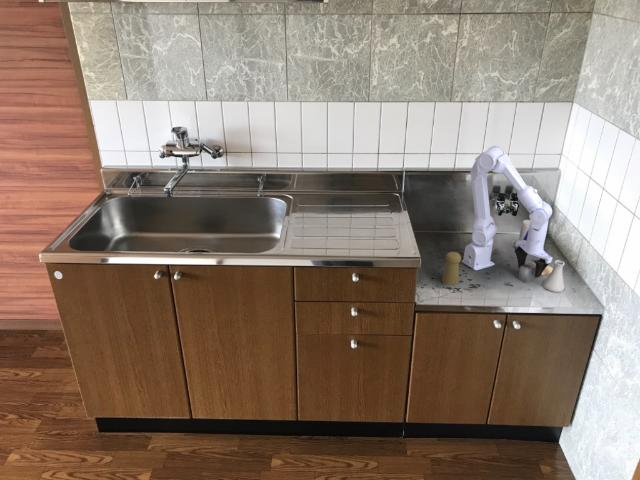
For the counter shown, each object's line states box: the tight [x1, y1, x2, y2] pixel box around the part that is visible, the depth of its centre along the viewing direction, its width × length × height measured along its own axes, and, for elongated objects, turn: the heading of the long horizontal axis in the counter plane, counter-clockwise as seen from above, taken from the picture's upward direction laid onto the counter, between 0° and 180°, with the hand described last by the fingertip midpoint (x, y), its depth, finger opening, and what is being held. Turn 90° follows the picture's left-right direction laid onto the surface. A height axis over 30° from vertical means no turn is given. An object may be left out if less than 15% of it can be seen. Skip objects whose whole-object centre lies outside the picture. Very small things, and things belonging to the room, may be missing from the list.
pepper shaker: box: [441, 251, 462, 286], centre depth 181 cm, size 6×6×11 cm
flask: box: [542, 259, 566, 293], centre depth 177 cm, size 7×7×10 cm
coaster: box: [533, 263, 554, 277], centre depth 190 cm, size 7×7×1 cm
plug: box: [517, 262, 537, 283], centre depth 184 cm, size 8×4×5 cm, turn 117°
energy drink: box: [516, 219, 531, 249], centre depth 201 cm, size 5×5×12 cm
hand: (529, 272), depth 184 cm, fingers open, 7 cm apart
